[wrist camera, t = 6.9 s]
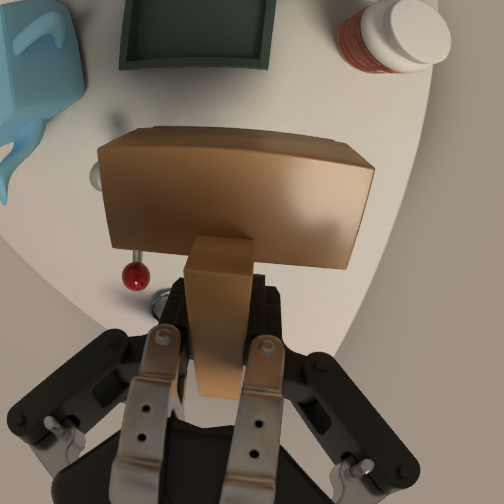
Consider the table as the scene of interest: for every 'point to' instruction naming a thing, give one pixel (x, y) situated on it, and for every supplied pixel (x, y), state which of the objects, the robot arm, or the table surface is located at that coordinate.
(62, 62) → the teapot
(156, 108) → the table surface
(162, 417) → the robot arm
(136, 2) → the tray
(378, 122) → the table surface
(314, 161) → the brush
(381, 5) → the pill bottle
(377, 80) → the table surface
